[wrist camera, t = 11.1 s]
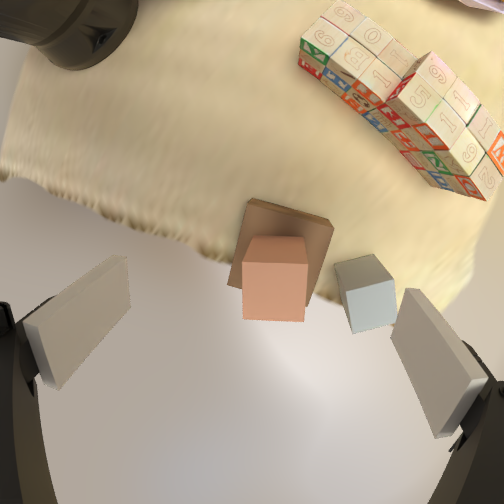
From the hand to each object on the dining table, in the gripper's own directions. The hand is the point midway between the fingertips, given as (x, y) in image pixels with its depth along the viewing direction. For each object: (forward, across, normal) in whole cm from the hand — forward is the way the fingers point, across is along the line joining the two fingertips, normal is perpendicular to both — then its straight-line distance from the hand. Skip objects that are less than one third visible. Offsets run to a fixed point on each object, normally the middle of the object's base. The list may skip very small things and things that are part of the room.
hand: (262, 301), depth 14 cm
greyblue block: (+22, +11, -7) cm, 26 cm away
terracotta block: (+18, +1, -4) cm, 18 cm away
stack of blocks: (+23, +12, +14) cm, 29 cm away
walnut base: (+23, +1, -4) cm, 23 cm away
